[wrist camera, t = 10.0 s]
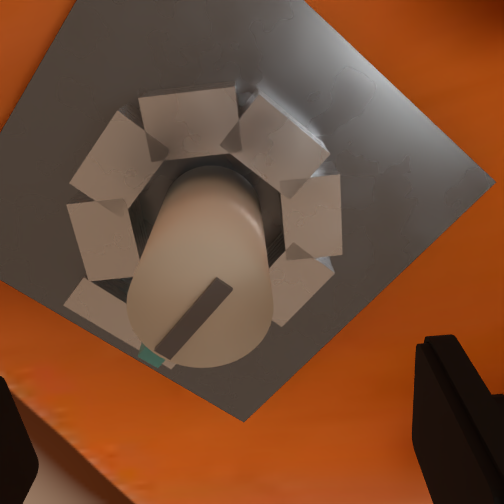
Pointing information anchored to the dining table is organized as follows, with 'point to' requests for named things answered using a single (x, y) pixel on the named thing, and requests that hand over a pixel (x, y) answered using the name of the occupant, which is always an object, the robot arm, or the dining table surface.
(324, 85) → the hub plate
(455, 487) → the robot arm
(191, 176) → the knob
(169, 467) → the dining table surface
